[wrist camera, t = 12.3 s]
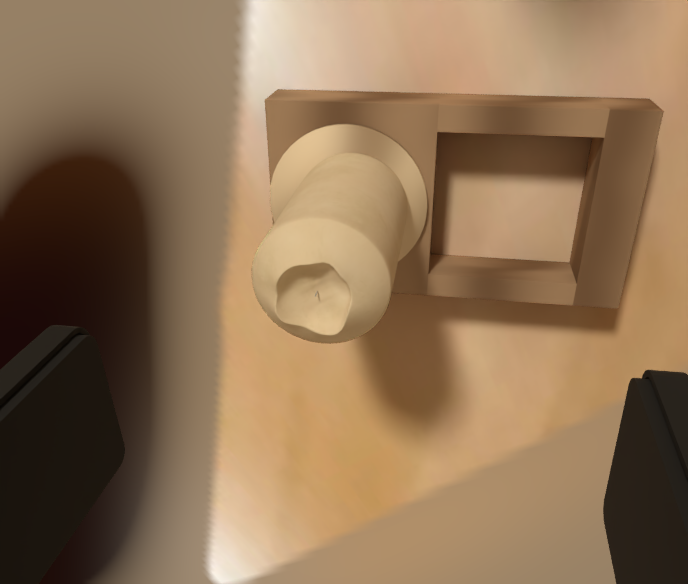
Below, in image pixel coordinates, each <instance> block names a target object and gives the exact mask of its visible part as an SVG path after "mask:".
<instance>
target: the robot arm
mask: <svg viewBox="0 0 688 584" xmlns="http://www.w3.org/2000/svg"><path fill="white" fill-rule="evenodd" d="M124 453H125V447H124V442H123V438H122V434H121V431H120V427H119V424H118V419H117V416H116V412H115V408H114V405H113V401H112V397H111V393H110V390H109V386H108V382H107V378H106V375H105V370H104V367H103V363H102V359H101V355H100V352H99V348H98V344H97V341H96V339H95V338H94V337H92V336H90V335H89V333H88V332H87V330H86V329H84V328H82V327H71V326H59V325H55V326H50V327H49V328H47V329H46V330H45V331H44V332H43V333H41V334H40V335H39V336H38V337H37V338H36V339H35V340H33V342H31V343H30V344H29V345H28V346H27V347H25V348H24V349H23V350H22V351H21V352H20V353H19V354H18V355H16V356H15V357H14V358H13V359H12V360H11V361H10V362H9V363H7V364H6V365H5V366H4V367H3V368H2V369H1V370H0V584H38V583H39V582H40V581H41V579H42V578H43V576H44V575H45V574H46V572H47V571H48V569H49V568H50V566H51V565H52V563H53V562H54V561H55V559H56V558H57V556H58V555H59V553H60V552H61V550H62V549H63V548H64V546H65V544H66V543H67V542H68V540H69V539H70V537H71V536H72V535H73V533H74V532H75V530H76V529H77V527H78V526H79V525H80V523H81V522H82V520H83V519H84V517H85V516H86V514H87V513H88V512H89V510H90V509H91V507H92V506H93V504H94V503H95V502H96V500H97V498H98V497H99V496H100V494H101V493H102V491H103V490H104V489H105V487H106V486H107V484H108V483H109V481H110V480H111V478H112V477H113V476H114V474H115V473H116V471H117V470H118V468H119V467H120V465H121V463H122V461H123V458H124ZM603 512H604V513H603V514H604V524H605V529H606V534H607V539H608V544H609V548H610V554H611V559H612V564H613V569H614V574H615V579H616V584H688V375H687V374H686V373H682V372H669V371H656V370H646V371H645V372H644V374H643V377H642V379H640V378H632V379H631V380H630V383H629V386H628V391H627V396H626V400H625V405H624V410H623V414H622V419H621V424H620V428H619V433H618V438H617V442H616V447H615V452H614V456H613V461H612V466H611V471H610V475H609V480H608V484H607V489H606V494H605V499H604V508H603Z"/></svg>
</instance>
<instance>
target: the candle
mask: <svg viewBox="0 0 688 584" xmlns="http://www.w3.org/2000/svg"><path fill="white" fill-rule="evenodd" d="M406 218H407V199H406V195H405V191H404V188H403V186H402V184H401V182H400V180H399V178H398V177H397V176H396V174H395V173H394V172H393V171H392V170H391V169H390V168H389V167H388V166H387V165H386V164H384V163H383V162H381V161H380V160H378V159H376V158H374V157H371V156H369V155H365V154H360V153H342V154H337V155H334V156H331V157H329V158H327V159H325V160H323V161H321V162H320V163H318V164H317V165H316V166H315V167H313V169H312V170H311V171H310V172H309V173H308V174H307V176H306V177H305V178H304V180H303V181H302V183H301V184H300V186H299V187H298V189H297V190H296V192H295V193H294V195H293V196H292V198H291V199H290V201H289V202H288V204H287V205H286V207H285V208H284V210H283V211H282V213H281V214H280V216H279V217H278V219H277V220H276V222H275V223H274V224H273V226H272V227H271V229H270V230H269V232H268V233H267V235H266V236H265V238H264V239H263V241H262V242H261V244H260V245H259V247H258V249H257V251H256V253H255V256H254V260H253V264H252V284H253V288H254V292H255V295H256V297H257V299H258V302H259V303H260V305H261V307H262V309H263V310H264V311H265V313H266V314H267V315H268V316H269V317H270V318H271V319H272V320H273V322H275V323H276V324H277V325H278V326H279V327H281V328H282V329H284V330H285V331H287V332H288V333H290V334H292V335H294V336H296V337H299V338H301V339H304V340H307V341H311V342H317V343H329V344H331V343H341V342H346V341H349V340H353V339H355V338H358V337H360V336H362V335H364V334H365V333H367V332H368V331H370V330H371V329H372V328H373V327H374V326H375V325H376V324H377V323H378V322H379V321H380V320H381V318H382V317H383V315H384V314H385V312H386V310H387V307H388V305H389V301H390V298H391V293H392V288H393V283H394V279H395V274H396V269H397V264H398V259H399V254H400V249H401V244H402V240H403V235H404V230H405V225H406Z"/></svg>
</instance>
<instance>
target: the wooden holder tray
mask: <svg viewBox="0 0 688 584" xmlns="http://www.w3.org/2000/svg"><path fill="white" fill-rule="evenodd" d="M265 110H266V125H267V140H268V156H269V171H270V206H271V212H272V217H273V224H274V223H275V222H276V220H277V219H278V217H279V216H280V214H281V213H282V211H283V210H284V208H285V207H286V205H287V204H288V202H289V201H290V199H291V198H292V196H293V195H294V193H295V192H296V190H297V189H298V187H299V186H300V184H301V183H302V181H303V180H304V178H305V177H306V176H307V174H308V173H309V172H310V171H311V170H312V169H313V167H315V166H316V165H317V164H318V163H320V162H321V161H323V160H325V159H327V158H329V157H331V156H334V155H337V154H342V153H360V154H365V155H369V156H371V157H374V158H376V159H378V160H380V161H381V162H383V163H384V164H386V165H387V166H388V167H389V168H390V169H391V170H392V171H393V172H394V173H395V174H396V176H397V177H398V178H399V180H400V182H401V184H402V186H403V188H404V191H405V195H406V199H407V218H406V225H405V230H404V235H403V240H402V244H401V249H400V254H399V259H398V264H397V269H396V274H395V279H394V283H393V288H392V293H402V294H417V295H431V296H445V297H459V298H473V299H487V300H502V301H516V302H530V303H544V304H558V305H572V306H587V307H601V308H615V309H618V308H619V304H620V299H621V295H622V291H623V286H624V282H625V277H626V273H627V269H628V264H629V260H630V256H631V251H632V247H633V243H634V238H635V234H636V230H637V225H638V221H639V216H640V212H641V208H642V203H643V199H644V195H645V190H646V186H647V182H648V177H649V173H650V169H651V164H652V160H653V155H654V151H655V147H656V142H657V138H658V134H659V129H660V125H661V121H662V116H663V112H664V111H663V110H662V109H661V108H659V107H658V106H657V105H656V104H655V103H654V102H652V101H651V100H650V99H634V98H595V97H556V96H516V95H477V94H437V93H398V92H359V91H319V90H280V89H278V90H277V91H275V92H274V93H273V94H272V95H270V96H269V97H268V98H267V99H265ZM438 132H454V133H483V134H513V135H542V136H571V137H592V141H591V147H590V152H589V158H588V163H587V169H586V175H585V180H584V186H583V191H582V197H581V202H580V208H579V213H578V219H577V225H576V230H575V236H574V241H573V247H572V252H571V258H570V263H565V262H549V261H532V260H516V259H500V258H484V257H467V256H451V255H435V254H430V252H431V236H432V220H433V204H434V189H435V173H436V157H437V141H438Z"/></svg>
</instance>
